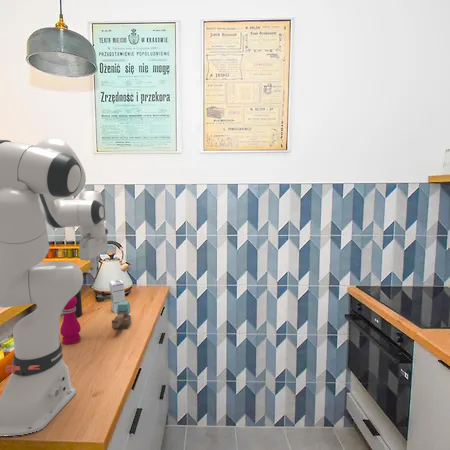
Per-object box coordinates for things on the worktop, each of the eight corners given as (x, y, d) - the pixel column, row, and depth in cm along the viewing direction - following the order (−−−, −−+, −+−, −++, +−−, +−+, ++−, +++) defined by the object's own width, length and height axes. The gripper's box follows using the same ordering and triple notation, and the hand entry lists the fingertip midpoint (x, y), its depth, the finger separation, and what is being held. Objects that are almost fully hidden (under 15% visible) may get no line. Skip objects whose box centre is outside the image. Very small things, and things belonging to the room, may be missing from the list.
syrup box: (126, 310, 155) (124, 281, 153) (113, 313, 151) (112, 284, 150) (122, 307, 159) (121, 279, 158) (110, 309, 156) (108, 281, 154)
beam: (123, 337, 127) (122, 318, 126) (108, 337, 127) (107, 318, 126) (134, 316, 147) (133, 300, 146) (121, 317, 147) (120, 300, 146)
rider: (128, 315, 138) (127, 304, 137) (117, 315, 138) (116, 304, 137) (130, 311, 142) (129, 301, 141) (120, 312, 142) (119, 301, 141)
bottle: (85, 315, 150) (82, 274, 147) (70, 320, 145) (67, 277, 142) (78, 311, 154) (75, 271, 152) (64, 316, 149) (60, 275, 147)
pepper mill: (73, 345, 121) (69, 295, 118) (56, 344, 122) (52, 294, 120) (85, 336, 128) (81, 289, 125) (69, 335, 129) (65, 288, 127)
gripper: (91, 235, 113) (93, 273, 115) (109, 229, 134) (111, 261, 135) (73, 235, 113) (75, 273, 114) (94, 229, 133) (96, 262, 135)
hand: (95, 267), depth 125 cm, fingers closed
